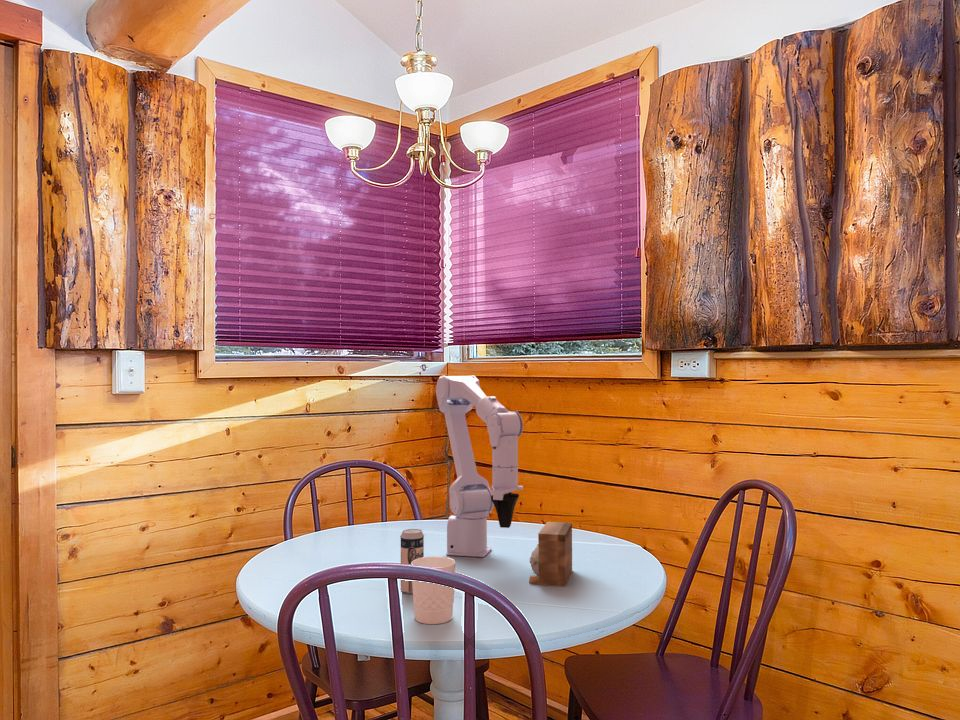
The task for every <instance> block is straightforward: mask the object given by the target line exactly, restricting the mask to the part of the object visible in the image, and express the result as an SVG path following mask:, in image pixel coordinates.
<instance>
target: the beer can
mask: <svg viewBox="0 0 960 720" xmlns="http://www.w3.org/2000/svg"><path fill="white" fill-rule="evenodd" d="M424 538H425V535H424V533H423V531H422V529H418V528H410V529H409V528H408V529H403V530H402V532H401V534H400V565H401V564H411V562H412V561H413V560H415V559H418V558H422V557H425V556H424V555H425V554H424V551H425V550H424V548H425V547H424V546H425V545H424V544H425V543H424V542H425V541H424V540H425V539H424ZM399 589H400V591H401V592H403V593H405V594H409V595H410V594H411V595H413V589H412V581H405V580H401V579H400V588H399Z"/></svg>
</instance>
